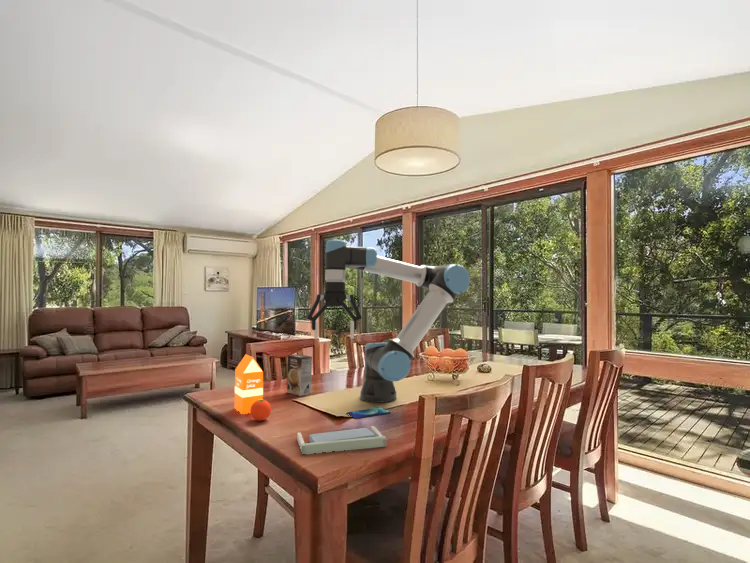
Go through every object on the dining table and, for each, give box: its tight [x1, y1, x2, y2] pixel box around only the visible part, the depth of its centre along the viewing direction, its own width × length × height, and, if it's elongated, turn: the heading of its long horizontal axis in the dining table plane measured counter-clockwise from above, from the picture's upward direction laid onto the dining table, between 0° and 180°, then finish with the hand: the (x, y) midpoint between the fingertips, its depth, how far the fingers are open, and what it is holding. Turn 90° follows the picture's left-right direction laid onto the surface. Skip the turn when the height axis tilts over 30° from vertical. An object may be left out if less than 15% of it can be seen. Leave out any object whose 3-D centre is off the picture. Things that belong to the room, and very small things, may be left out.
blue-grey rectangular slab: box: [309, 427, 375, 443], centre depth 123 cm, size 18×7×2 cm, turn 112°
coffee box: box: [286, 353, 313, 397], centre depth 180 cm, size 9×6×16 cm
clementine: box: [249, 398, 272, 422], centre depth 142 cm, size 8×7×7 cm
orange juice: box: [234, 353, 264, 415], centre depth 154 cm, size 8×9×20 cm
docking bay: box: [296, 425, 387, 455], centre depth 122 cm, size 24×12×2 cm, turn 107°
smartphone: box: [346, 406, 391, 420], centre depth 151 cm, size 8×1×15 cm
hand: (334, 338), depth 154 cm, fingers open, 13 cm apart
